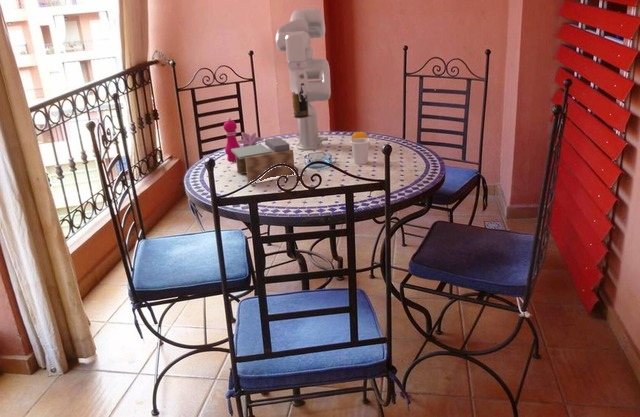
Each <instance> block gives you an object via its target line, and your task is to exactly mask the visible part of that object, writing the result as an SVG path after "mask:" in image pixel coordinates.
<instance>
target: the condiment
mask: <svg viewBox="0 0 640 417" xmlns="http://www.w3.org/2000/svg"><path fill="white" fill-rule="evenodd" d="M293 93H294V94H293V98H292V107H293V106H294V108H293V114H292V115H291V114H290V117H292V118H295V119H297V120H298V119H301V118H308V117H314V116H312V115H309V114H308V98H307V96H306V105H307V110H306V111H299V97H298V94H295V92H293ZM301 93H302V92H300V94H301ZM301 96H302V95H301Z"/></svg>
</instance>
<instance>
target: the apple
mask: <svg viewBox="0 0 640 417" xmlns="http://www.w3.org/2000/svg"><path fill="white" fill-rule="evenodd" d="M356 138H367V139H369V138H368V136H367V134H366V133H365V132H363V131H355V132H354V133H353V134H352V135H351V140H352V139H356ZM351 140H350V141H351Z"/></svg>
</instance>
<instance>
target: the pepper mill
mask: <svg viewBox="0 0 640 417" xmlns="http://www.w3.org/2000/svg"><path fill="white" fill-rule="evenodd" d="M226 120H227V121H225V122H224V123H223V130H224V131H225V132H224V133H225V135H226V145H225V147H224V148H225V151H224V152H225V154H226V155H227V156H226V158H227V161H228V162H230V163H231V162H236V156H235V154H234V153H232V152H231V149H234V148H240V147H241V146H240V143H238V140H237V129H238V126H237V123H236V121H234V120H232V118H231V117H227V119H226Z"/></svg>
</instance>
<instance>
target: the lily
mask: <svg viewBox="0 0 640 417" xmlns="http://www.w3.org/2000/svg"><path fill="white" fill-rule="evenodd" d="M241 138H242V139H240V140H237V142H238V144H242V147H246V146H252V145H258V144H257V143H258V142H260V141H261V142H262V141H264V140H265V139H264V138H263V137H261V136H257V132H254V133H252V134H251V135H250V134H249V133H246V132H241Z"/></svg>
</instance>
